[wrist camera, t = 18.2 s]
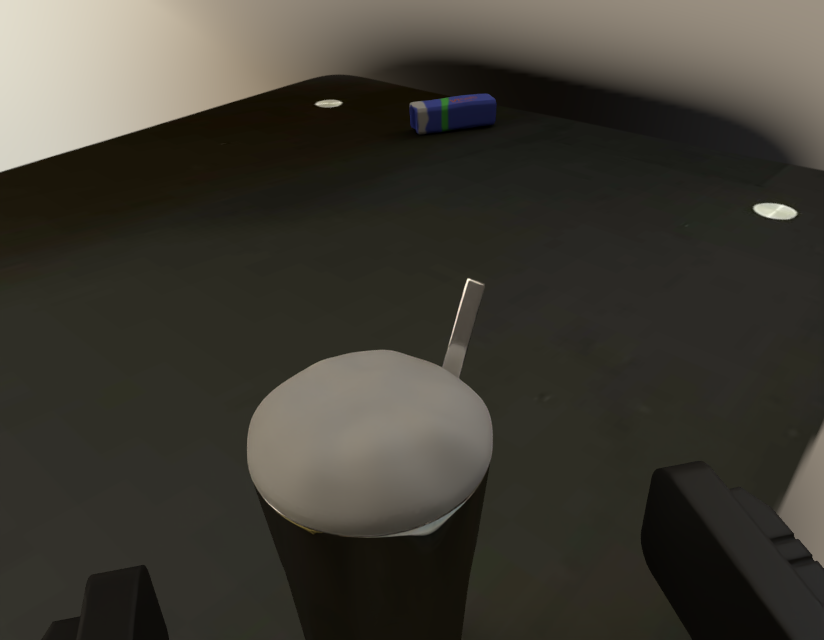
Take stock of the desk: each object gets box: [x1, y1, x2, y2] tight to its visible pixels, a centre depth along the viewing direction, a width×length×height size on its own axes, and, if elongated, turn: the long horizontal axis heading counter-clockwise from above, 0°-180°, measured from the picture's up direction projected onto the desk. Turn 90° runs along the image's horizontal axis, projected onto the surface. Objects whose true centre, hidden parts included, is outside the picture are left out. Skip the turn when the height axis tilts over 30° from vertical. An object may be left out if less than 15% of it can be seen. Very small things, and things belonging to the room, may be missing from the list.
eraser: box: [410, 94, 496, 134], centre depth 54 cm, size 2×6×2 cm, turn 105°
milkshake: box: [247, 278, 493, 640], centre depth 16 cm, size 4×5×10 cm
